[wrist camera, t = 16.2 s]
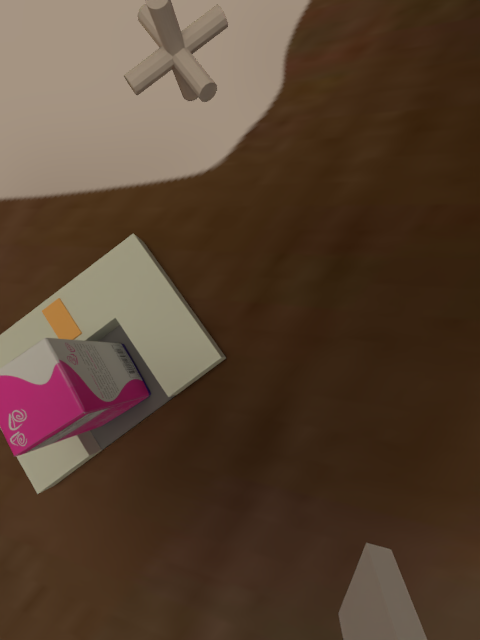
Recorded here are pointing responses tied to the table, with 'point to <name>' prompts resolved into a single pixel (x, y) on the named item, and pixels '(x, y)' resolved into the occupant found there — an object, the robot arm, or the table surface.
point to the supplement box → (65, 391)
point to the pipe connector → (176, 49)
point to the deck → (116, 327)
